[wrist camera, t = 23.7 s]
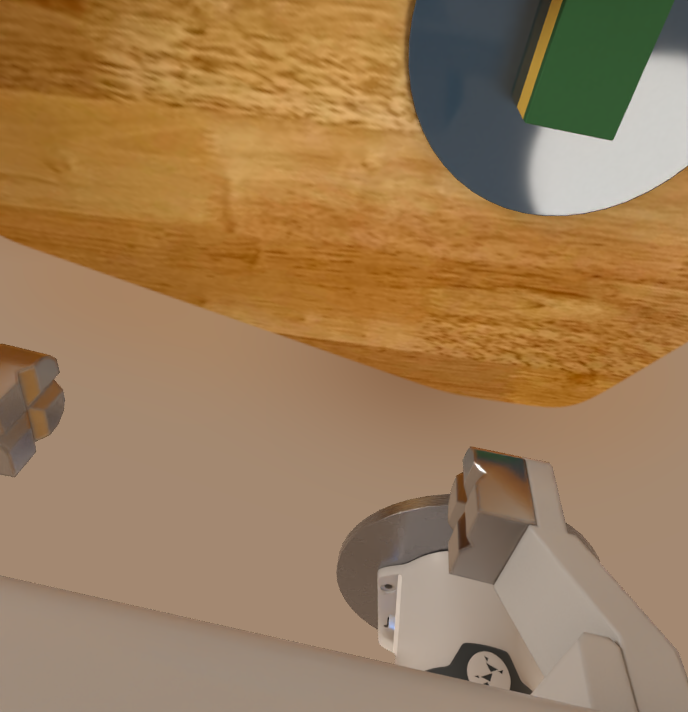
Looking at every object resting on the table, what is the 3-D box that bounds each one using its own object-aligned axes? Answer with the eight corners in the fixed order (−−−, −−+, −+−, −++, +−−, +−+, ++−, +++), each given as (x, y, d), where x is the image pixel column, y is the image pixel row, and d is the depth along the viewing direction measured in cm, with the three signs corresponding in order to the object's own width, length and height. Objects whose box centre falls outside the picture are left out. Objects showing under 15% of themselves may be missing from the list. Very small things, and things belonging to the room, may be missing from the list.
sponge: (597, 123, 30) (613, 141, 27) (516, 107, 30) (524, 123, 28) (661, -31, 26) (687, -29, 23) (567, -49, 26) (582, -49, 23)
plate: (666, 237, 34) (670, 242, 33) (380, 180, 35) (379, 184, 34) (879, -153, 23) (891, -156, 23) (459, -229, 24) (460, -234, 23)
